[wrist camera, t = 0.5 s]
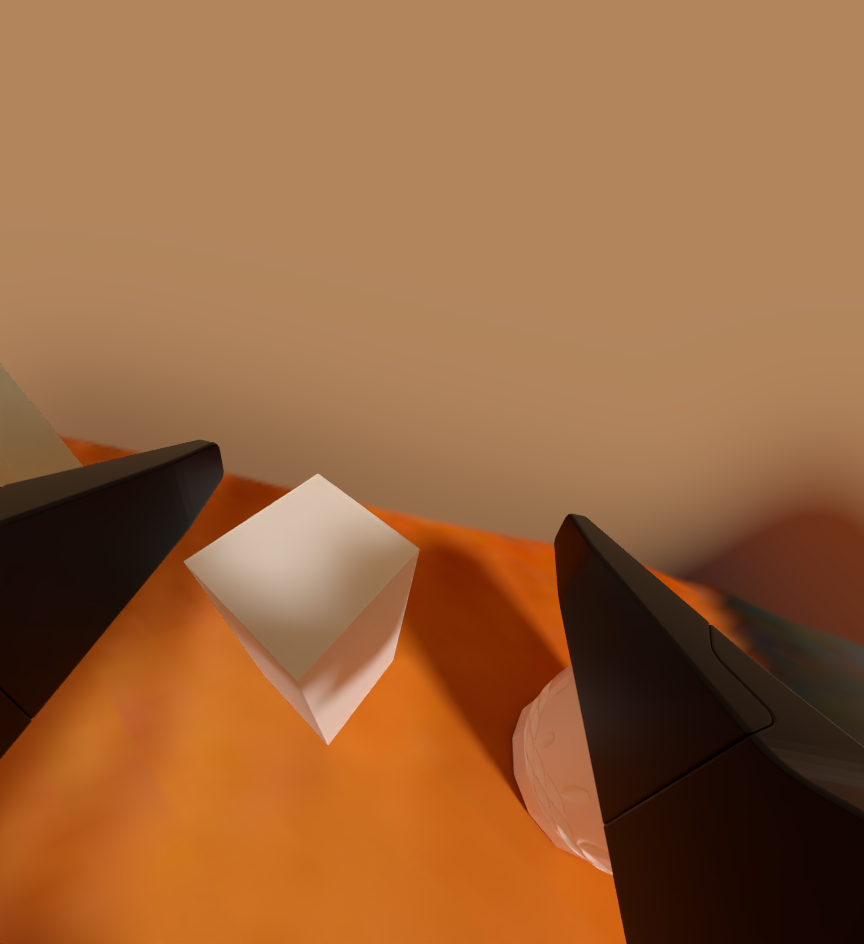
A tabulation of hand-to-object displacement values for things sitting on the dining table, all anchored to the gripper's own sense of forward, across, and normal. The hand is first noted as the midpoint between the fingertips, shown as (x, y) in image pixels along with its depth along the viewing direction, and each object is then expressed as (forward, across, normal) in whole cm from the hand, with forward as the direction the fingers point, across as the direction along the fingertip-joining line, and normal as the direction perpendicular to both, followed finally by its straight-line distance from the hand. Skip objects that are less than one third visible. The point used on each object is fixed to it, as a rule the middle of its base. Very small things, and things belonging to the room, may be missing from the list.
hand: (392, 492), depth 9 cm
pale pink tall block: (+3, +2, +16) cm, 16 cm away
